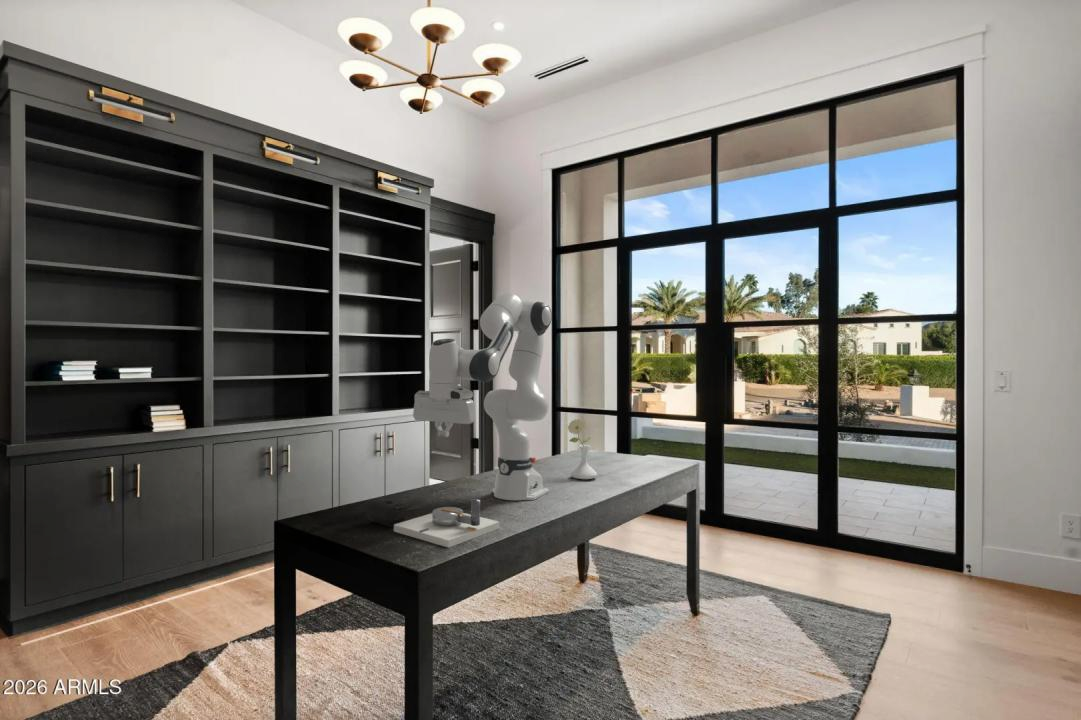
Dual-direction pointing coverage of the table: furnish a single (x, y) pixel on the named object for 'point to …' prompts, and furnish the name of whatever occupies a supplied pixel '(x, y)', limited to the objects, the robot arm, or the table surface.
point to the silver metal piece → (457, 515)
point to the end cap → (385, 513)
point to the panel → (444, 530)
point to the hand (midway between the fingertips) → (443, 436)
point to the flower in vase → (583, 468)
